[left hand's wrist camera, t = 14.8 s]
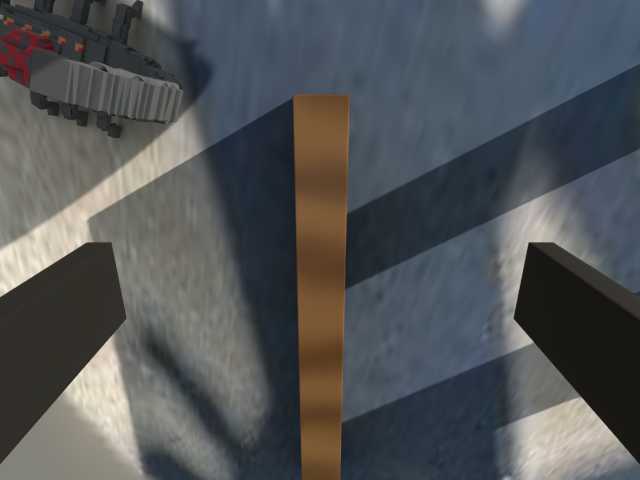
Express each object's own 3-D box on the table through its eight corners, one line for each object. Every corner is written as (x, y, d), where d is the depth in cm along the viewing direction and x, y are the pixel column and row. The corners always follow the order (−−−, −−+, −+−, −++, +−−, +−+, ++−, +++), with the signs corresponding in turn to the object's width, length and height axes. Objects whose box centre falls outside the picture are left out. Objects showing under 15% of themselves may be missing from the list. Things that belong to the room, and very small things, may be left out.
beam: (297, 94, 40) (292, 94, 33) (344, 94, 40) (349, 94, 33) (304, 468, 59) (302, 519, 51) (336, 468, 59) (339, 519, 51)
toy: (201, 167, 43) (121, 215, 25) (-57, 76, 39) (-347, 62, 22) (234, 38, 38) (165, -8, 21) (-53, -75, 35) (-411, -239, 18)
